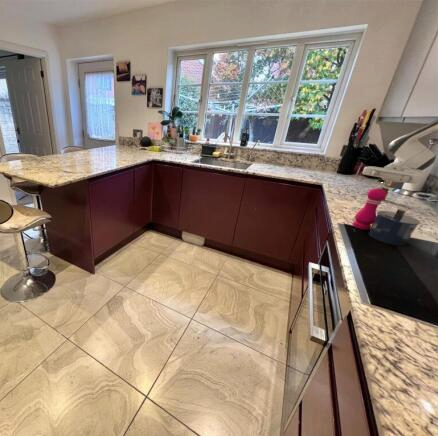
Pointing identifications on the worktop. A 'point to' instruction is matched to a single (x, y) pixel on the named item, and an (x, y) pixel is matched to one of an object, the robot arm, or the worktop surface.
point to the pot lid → (398, 217)
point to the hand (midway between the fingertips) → (388, 176)
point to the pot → (391, 231)
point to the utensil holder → (386, 188)
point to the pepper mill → (369, 208)
